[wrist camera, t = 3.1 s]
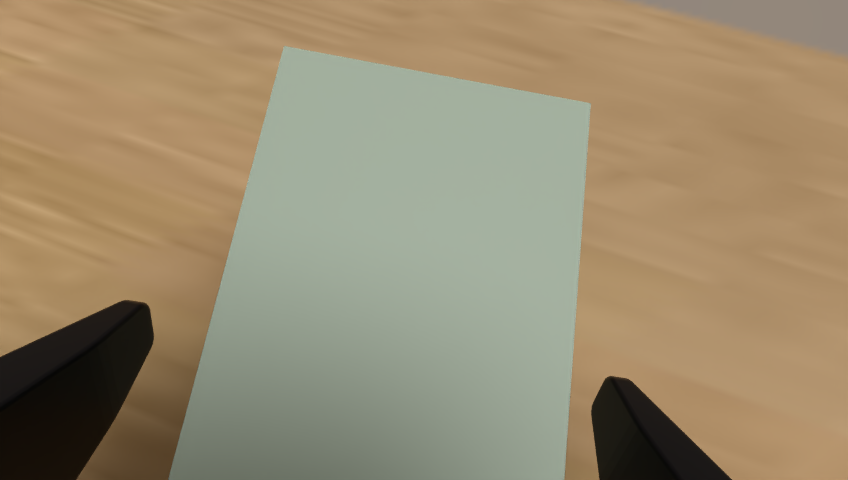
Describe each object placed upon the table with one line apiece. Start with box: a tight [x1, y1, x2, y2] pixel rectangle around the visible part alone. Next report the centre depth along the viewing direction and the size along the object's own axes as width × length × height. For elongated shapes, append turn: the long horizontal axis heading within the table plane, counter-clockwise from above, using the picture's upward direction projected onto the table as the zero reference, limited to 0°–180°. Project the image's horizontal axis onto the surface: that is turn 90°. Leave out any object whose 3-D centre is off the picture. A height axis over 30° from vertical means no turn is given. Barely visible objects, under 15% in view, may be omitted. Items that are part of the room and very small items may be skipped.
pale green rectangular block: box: [168, 46, 591, 480], centre depth 12 cm, size 6×4×13 cm, turn 171°
